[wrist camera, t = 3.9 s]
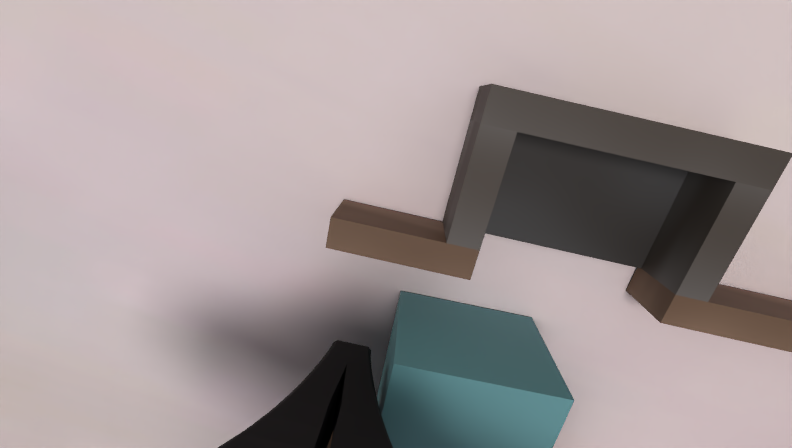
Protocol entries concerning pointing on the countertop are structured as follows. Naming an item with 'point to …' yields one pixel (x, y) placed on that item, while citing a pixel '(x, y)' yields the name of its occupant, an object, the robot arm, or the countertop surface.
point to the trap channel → (596, 208)
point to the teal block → (469, 379)
